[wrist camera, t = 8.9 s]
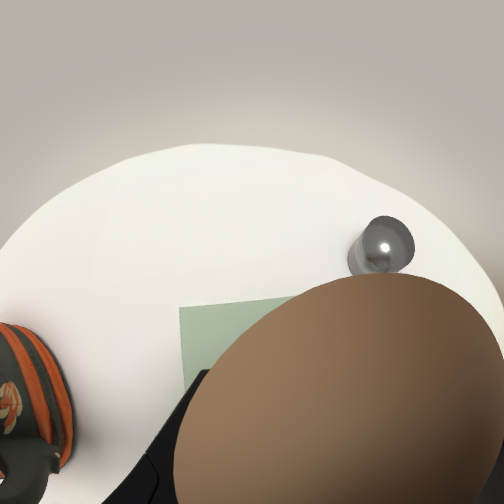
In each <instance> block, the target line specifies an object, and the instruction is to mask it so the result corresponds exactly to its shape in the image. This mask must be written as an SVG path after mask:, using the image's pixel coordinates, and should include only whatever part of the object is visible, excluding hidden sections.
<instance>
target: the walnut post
mask: <svg viewBox="0 0 504 504" xmlns="http://www.w3.org/2000/svg"><path fill="white" fill-rule="evenodd" d="M503 439H504V359H503V356H502V353H501V350H500V347H499V345H498V343H497V341H496V338H495V336H494V334H493V332H492V331H491V329H490V327H489V326H488V325H487V323H486V322H485V320H484V319H483V317H482V316H481V315H480V314H479V313H478V312H477V310H476V309H475V308H474V307H473V306H472V305H471V304H470V303H469V302H467V301H466V300H465V299H464V298H462V297H461V296H460V295H459V294H457V293H456V292H454V291H452V290H450V289H449V288H447V287H445V286H444V285H442V284H439V283H437V282H434V281H431V280H429V279H426V278H423V277H418V276H413V275H409V274H402V273H386V272H383V273H370V274H360V275H355V276H351V277H346V278H341V279H337V280H334V281H332V282H329V283H326V284H323V285H320V286H317V287H314V288H312V289H310V290H308V291H306V292H304V293H302V294H300V295H298V296H296V297H294V298H292V299H290V300H288V301H286V302H285V303H283V304H282V305H280V306H279V307H277V308H276V309H274V310H272V311H271V312H269V313H268V314H266V315H265V316H263V317H262V318H261V319H260V320H258V321H257V322H256V323H255V324H254V325H252V326H251V327H250V328H249V329H247V330H246V331H245V332H244V333H243V334H241V335H240V336H239V337H238V338H237V340H236V341H235V342H234V343H233V344H232V345H231V346H230V347H229V348H228V349H227V350H226V351H225V352H224V353H223V354H222V355H221V356H220V357H219V359H218V360H217V361H216V363H215V364H214V365H213V367H212V368H211V369H210V371H209V372H208V373H207V375H206V376H205V377H204V379H203V380H202V382H201V384H200V385H199V387H198V389H197V391H196V392H195V394H194V396H193V398H192V399H191V401H190V403H189V405H188V408H187V410H186V413H185V416H184V418H183V421H182V423H181V426H180V429H179V433H178V438H177V442H176V447H175V451H174V471H173V476H174V484H175V491H176V497H177V500H178V503H179V504H472V503H473V502H474V501H475V499H476V498H477V496H478V495H479V493H480V492H481V490H482V488H483V487H484V485H485V483H486V482H487V480H488V478H489V476H490V474H491V472H492V470H493V468H494V465H495V463H496V460H497V458H498V455H499V452H500V450H501V446H502V443H503Z"/></svg>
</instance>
